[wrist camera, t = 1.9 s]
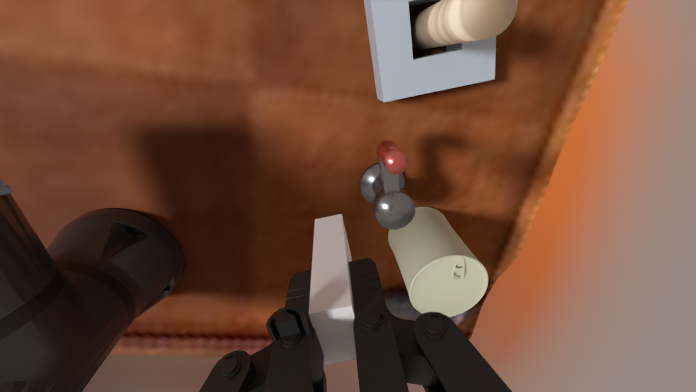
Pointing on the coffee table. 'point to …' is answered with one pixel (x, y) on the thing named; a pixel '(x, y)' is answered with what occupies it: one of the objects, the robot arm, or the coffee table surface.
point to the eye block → (422, 72)
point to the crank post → (374, 182)
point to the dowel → (461, 22)
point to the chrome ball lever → (392, 189)
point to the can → (437, 265)
